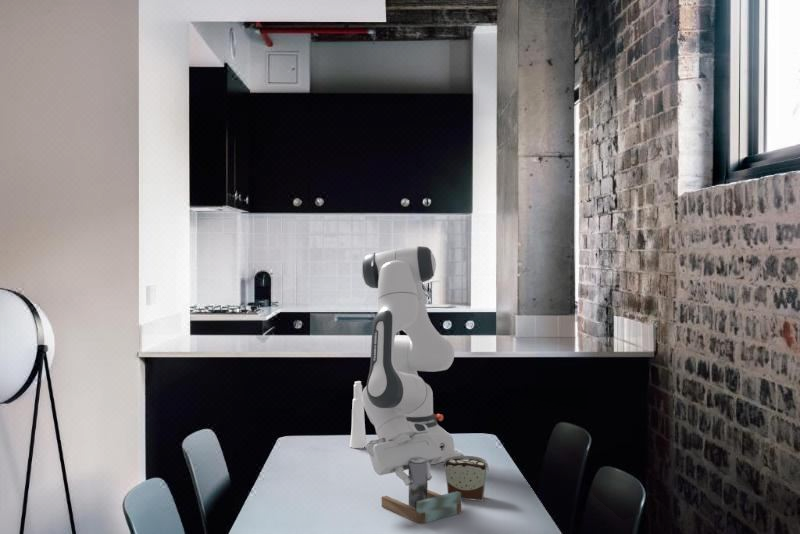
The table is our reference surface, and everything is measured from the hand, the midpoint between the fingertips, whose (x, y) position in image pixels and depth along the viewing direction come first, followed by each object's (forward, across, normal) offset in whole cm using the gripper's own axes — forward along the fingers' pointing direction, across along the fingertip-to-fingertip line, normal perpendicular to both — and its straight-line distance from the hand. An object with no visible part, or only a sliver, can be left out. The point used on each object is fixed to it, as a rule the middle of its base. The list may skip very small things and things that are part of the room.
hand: (419, 481), depth 188 cm
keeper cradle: (+5, 0, +5) cm, 7 cm away
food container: (+5, +17, +5) cm, 18 cm away
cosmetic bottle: (-39, +23, +49) cm, 67 cm away
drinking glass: (+4, 0, +5) cm, 6 cm away
